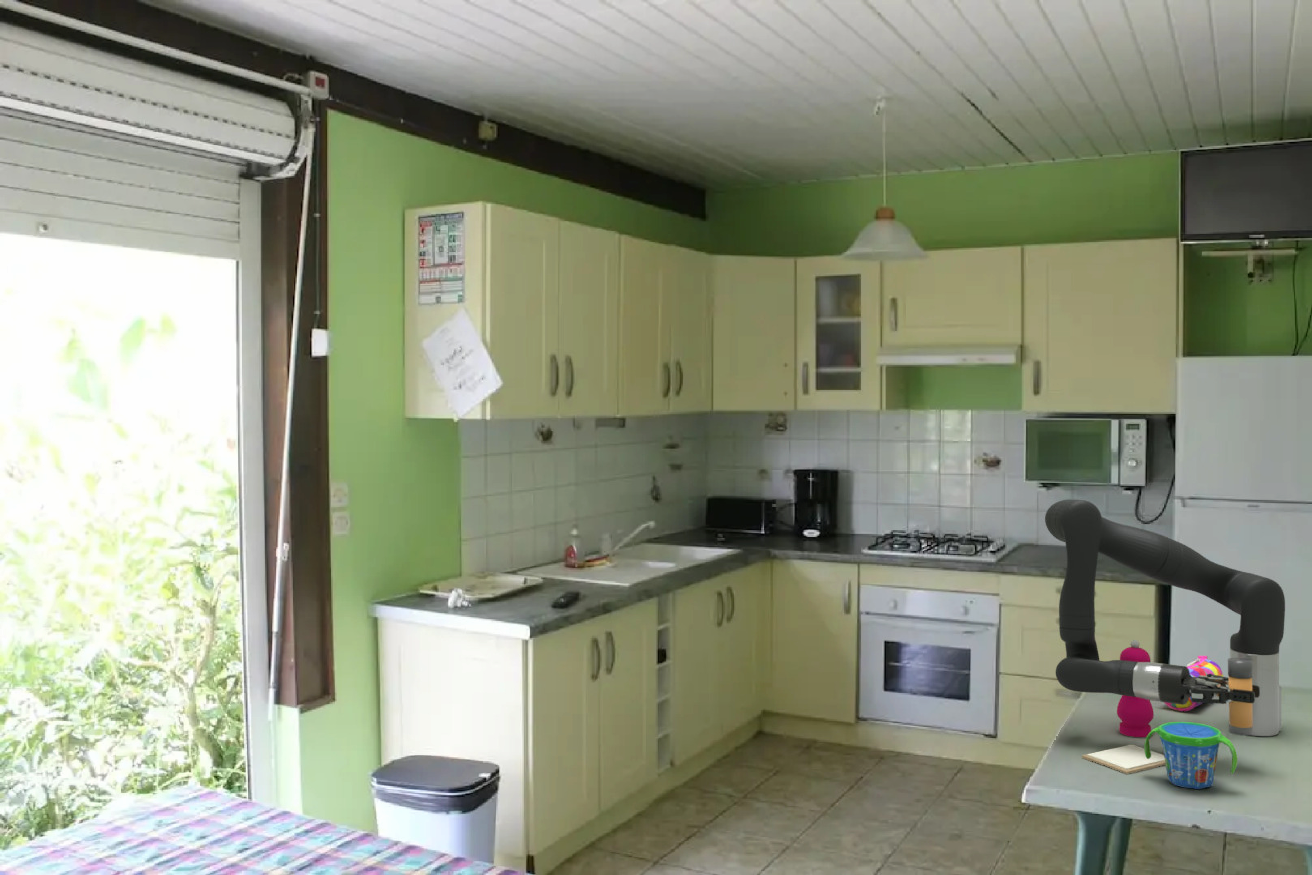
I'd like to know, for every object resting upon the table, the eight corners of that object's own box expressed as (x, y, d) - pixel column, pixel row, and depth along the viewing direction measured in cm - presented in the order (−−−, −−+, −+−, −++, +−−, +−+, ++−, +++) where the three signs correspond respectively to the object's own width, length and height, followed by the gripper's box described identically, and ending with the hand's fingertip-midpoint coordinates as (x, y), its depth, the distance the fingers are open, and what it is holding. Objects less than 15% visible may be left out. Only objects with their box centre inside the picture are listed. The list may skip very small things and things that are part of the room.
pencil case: (1183, 689, 272) (1183, 652, 272) (1226, 695, 266) (1226, 657, 266) (1156, 709, 256) (1156, 670, 255) (1200, 716, 250) (1200, 676, 249)
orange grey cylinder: (1238, 727, 218) (1237, 656, 217) (1258, 733, 214) (1257, 660, 214) (1223, 731, 216) (1222, 659, 216) (1243, 737, 212) (1242, 664, 212)
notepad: (1131, 746, 230) (1131, 742, 230) (1177, 762, 220) (1177, 758, 220) (1081, 757, 223) (1081, 753, 223) (1127, 774, 214) (1127, 770, 214)
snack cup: (1135, 780, 210) (1135, 727, 210) (1157, 766, 217) (1157, 715, 217) (1224, 801, 199) (1224, 744, 199) (1244, 785, 206) (1244, 731, 206)
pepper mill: (1143, 740, 233) (1143, 645, 233) (1110, 732, 239) (1110, 640, 238) (1160, 733, 238) (1160, 640, 237) (1127, 725, 244) (1127, 634, 243)
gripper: (1150, 671, 218) (1248, 683, 207) (1170, 656, 229) (1264, 666, 219) (1151, 709, 219) (1249, 723, 208) (1171, 692, 230) (1264, 704, 219)
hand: (1256, 694), depth 213 cm, fingers closed on orange grey cylinder, 4 cm apart
